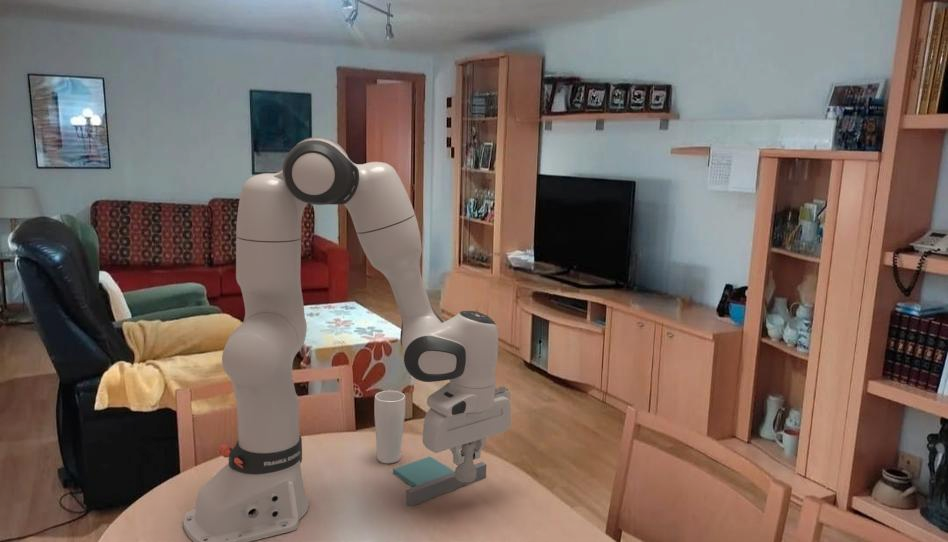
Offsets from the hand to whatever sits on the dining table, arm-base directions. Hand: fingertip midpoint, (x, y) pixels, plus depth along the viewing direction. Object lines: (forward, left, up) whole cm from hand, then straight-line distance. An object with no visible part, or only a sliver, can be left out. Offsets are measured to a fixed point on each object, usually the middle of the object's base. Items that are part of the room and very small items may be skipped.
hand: (466, 460), depth 137 cm
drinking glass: (-1, +25, -9) cm, 26 cm away
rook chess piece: (0, 0, -4) cm, 4 cm away
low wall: (+1, +6, -9) cm, 11 cm away
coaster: (+1, +14, -9) cm, 16 cm away
